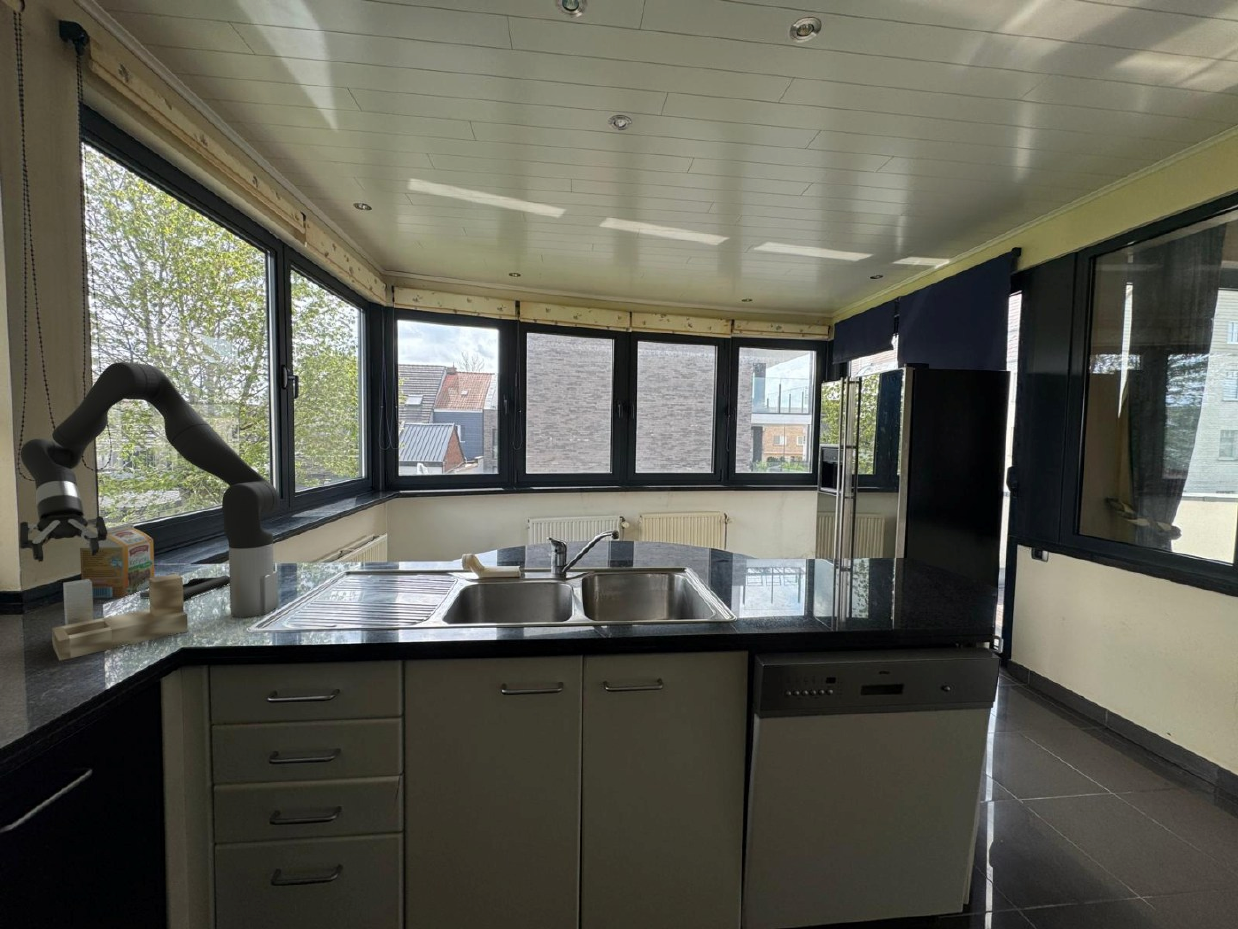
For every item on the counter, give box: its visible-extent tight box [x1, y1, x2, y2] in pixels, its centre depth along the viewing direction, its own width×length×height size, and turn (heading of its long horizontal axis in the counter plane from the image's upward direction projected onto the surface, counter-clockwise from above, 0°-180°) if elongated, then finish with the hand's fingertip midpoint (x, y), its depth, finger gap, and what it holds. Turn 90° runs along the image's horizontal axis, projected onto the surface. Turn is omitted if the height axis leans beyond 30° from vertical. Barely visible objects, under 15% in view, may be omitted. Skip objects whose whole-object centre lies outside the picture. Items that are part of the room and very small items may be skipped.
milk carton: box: [79, 523, 156, 599], centre depth 145 cm, size 11×11×19 cm
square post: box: [62, 579, 95, 626], centre depth 114 cm, size 4×4×12 cm
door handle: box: [139, 575, 230, 602], centre depth 145 cm, size 3×20×16 cm
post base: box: [51, 573, 189, 661], centre depth 113 cm, size 20×11×12 cm, turn 143°
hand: (68, 556), depth 121 cm, fingers open, 8 cm apart
